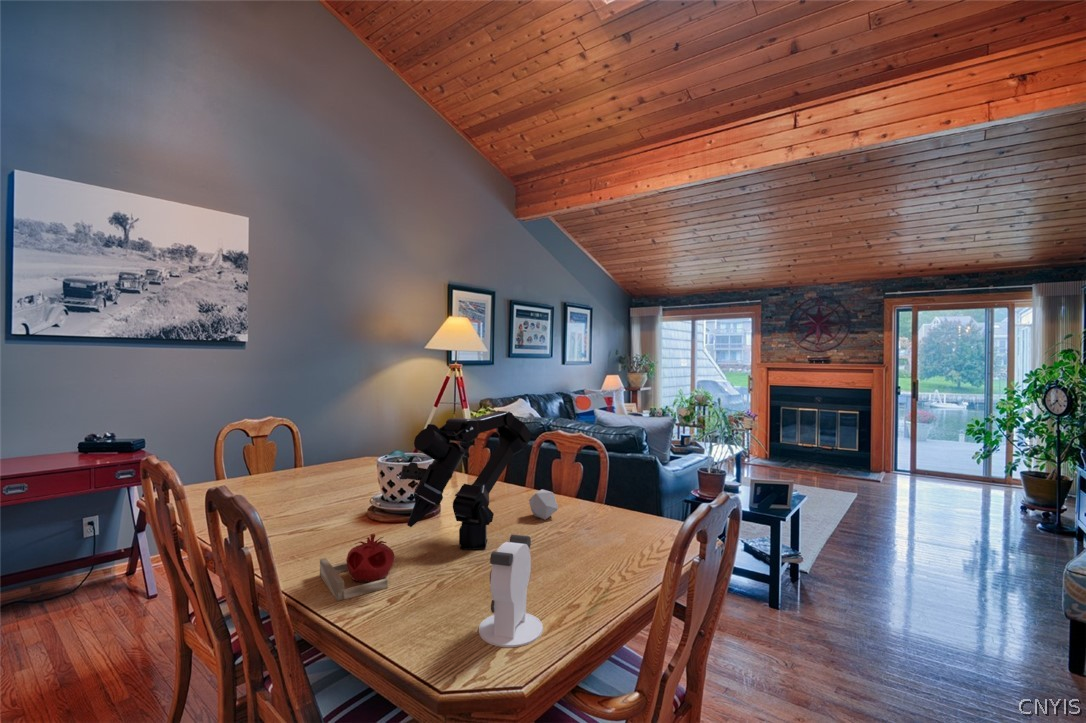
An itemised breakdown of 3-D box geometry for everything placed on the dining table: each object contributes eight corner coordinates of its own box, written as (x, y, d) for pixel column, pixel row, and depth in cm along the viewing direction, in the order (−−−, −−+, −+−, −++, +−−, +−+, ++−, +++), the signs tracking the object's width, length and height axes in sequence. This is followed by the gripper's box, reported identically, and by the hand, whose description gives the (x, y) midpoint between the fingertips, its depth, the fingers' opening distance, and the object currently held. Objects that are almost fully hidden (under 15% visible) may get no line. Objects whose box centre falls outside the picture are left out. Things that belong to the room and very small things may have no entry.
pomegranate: (357, 566, 114) (357, 526, 114) (400, 566, 114) (400, 526, 114) (339, 586, 104) (338, 542, 104) (385, 586, 104) (385, 542, 104)
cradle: (365, 564, 115) (365, 549, 115) (387, 587, 103) (387, 570, 103) (319, 575, 109) (319, 559, 109) (337, 601, 97) (337, 582, 97)
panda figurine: (494, 607, 95) (495, 530, 95) (551, 616, 92) (551, 536, 92) (468, 640, 83) (468, 552, 84) (531, 652, 80) (531, 560, 80)
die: (564, 520, 152) (560, 489, 158) (550, 512, 145) (547, 480, 151) (539, 527, 154) (536, 496, 160) (525, 519, 148) (523, 488, 154)
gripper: (414, 451, 127) (380, 507, 123) (414, 447, 110) (375, 512, 105) (452, 472, 129) (420, 528, 124) (458, 472, 111) (421, 537, 106)
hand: (409, 526), depth 115 cm, fingers closed
